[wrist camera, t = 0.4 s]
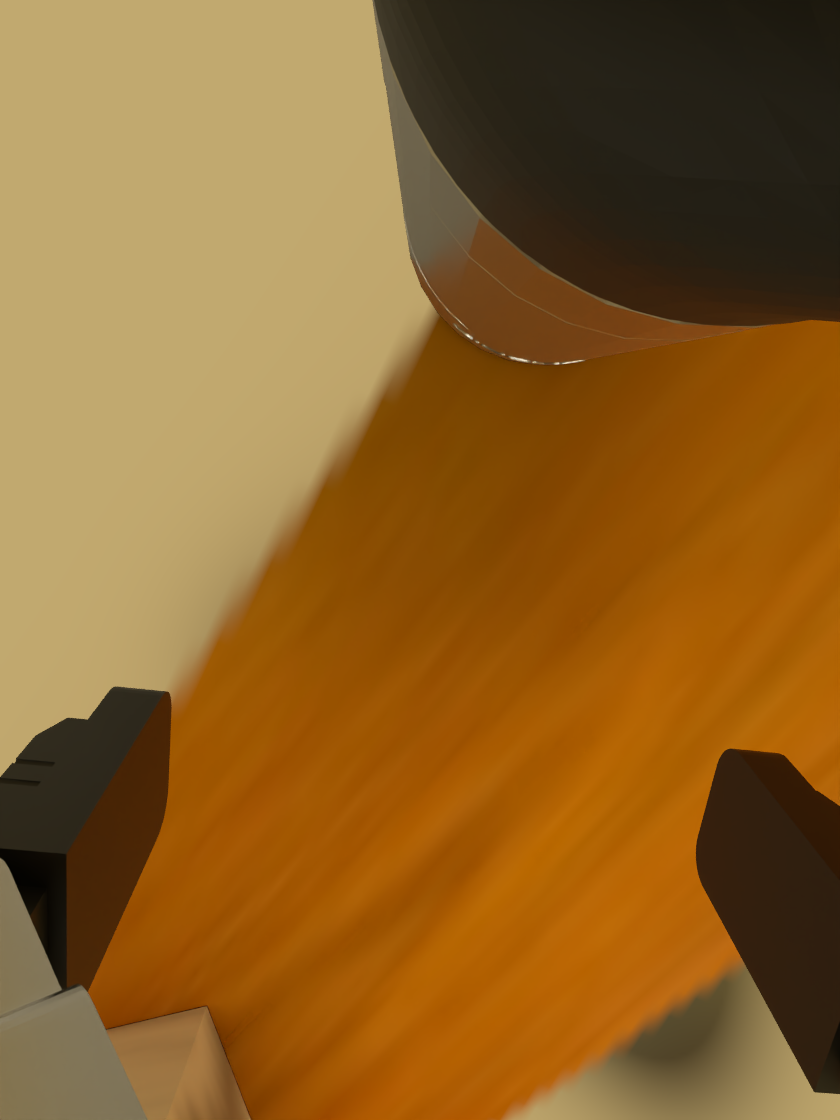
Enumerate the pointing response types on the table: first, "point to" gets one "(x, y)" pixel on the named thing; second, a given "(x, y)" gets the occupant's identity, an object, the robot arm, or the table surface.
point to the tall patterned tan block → (179, 1068)
